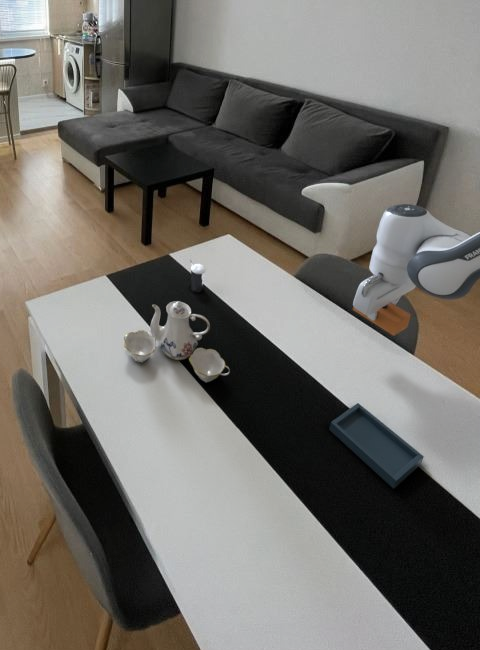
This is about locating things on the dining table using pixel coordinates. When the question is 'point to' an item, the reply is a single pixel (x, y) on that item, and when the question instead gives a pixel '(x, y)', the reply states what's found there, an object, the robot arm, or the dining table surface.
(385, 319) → the orange rectangular block
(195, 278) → the milkshake
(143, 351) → the chinaware
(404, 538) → the dining table surface
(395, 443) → the dark blue rectangular tray
